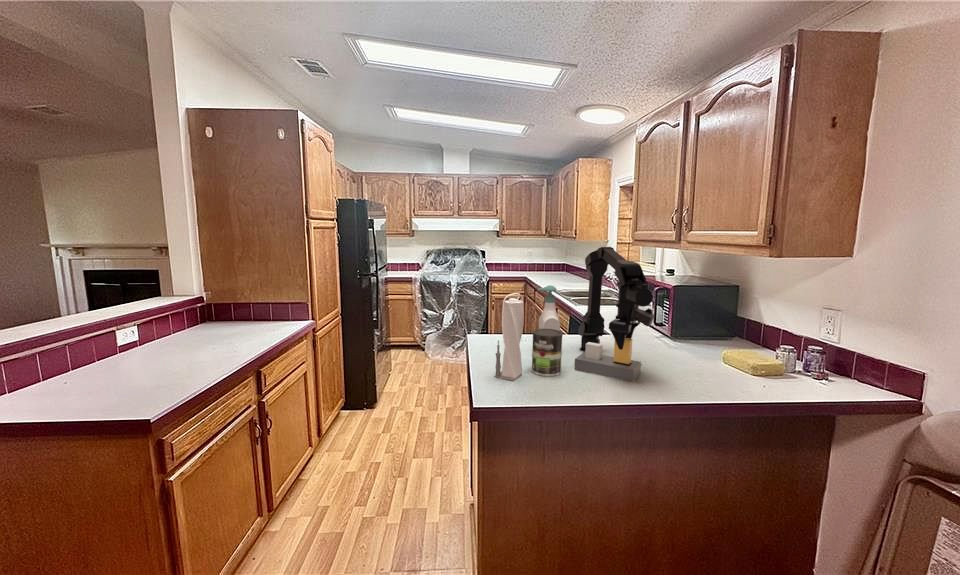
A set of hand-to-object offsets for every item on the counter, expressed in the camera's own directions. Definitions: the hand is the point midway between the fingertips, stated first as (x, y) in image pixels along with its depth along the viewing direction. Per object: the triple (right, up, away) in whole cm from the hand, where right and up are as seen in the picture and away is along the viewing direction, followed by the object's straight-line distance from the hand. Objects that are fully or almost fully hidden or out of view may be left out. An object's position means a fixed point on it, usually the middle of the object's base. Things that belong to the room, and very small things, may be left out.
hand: (624, 346), depth 133 cm
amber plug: (0, -6, +1) cm, 7 cm away
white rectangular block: (-9, -9, +7) cm, 14 cm away
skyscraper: (-39, -10, 0) cm, 40 cm away
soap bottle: (-22, -7, +25) cm, 34 cm away
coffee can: (-26, -10, +5) cm, 28 cm away
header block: (-4, -10, +5) cm, 11 cm away
